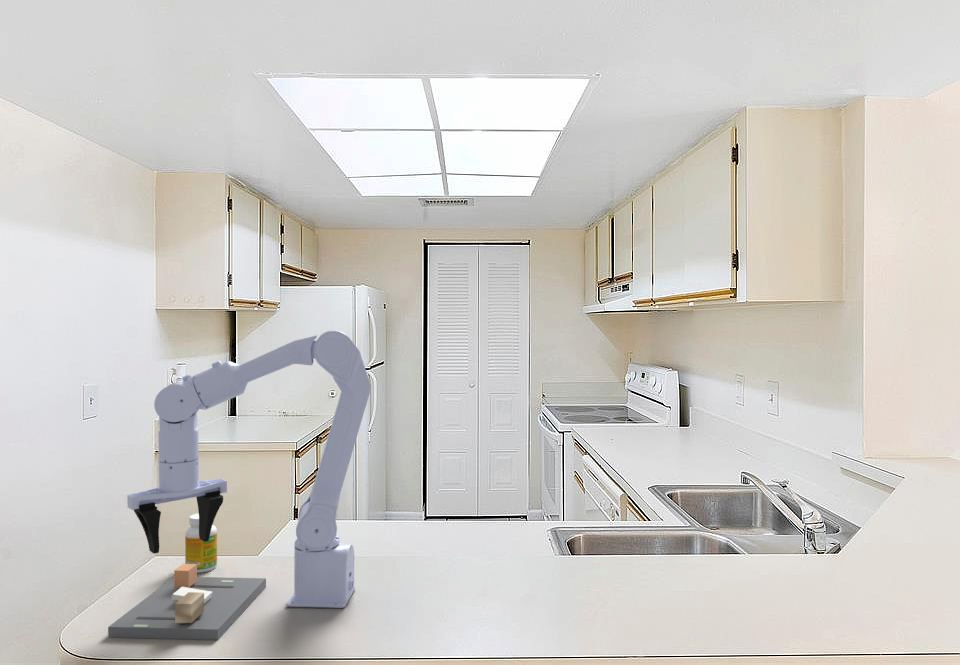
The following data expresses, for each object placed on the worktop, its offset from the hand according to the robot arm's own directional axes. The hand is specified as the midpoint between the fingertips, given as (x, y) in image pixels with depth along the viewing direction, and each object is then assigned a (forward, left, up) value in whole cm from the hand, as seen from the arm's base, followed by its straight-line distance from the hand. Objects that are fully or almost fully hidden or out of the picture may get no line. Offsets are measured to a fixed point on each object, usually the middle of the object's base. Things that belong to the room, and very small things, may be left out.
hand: (179, 545), depth 105 cm
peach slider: (+2, -5, -8) cm, 10 cm away
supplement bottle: (+5, -17, -10) cm, 21 cm away
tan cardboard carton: (-5, +7, -8) cm, 12 cm away
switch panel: (-2, 0, -10) cm, 10 cm away
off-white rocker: (-2, +1, -8) cm, 8 cm away
